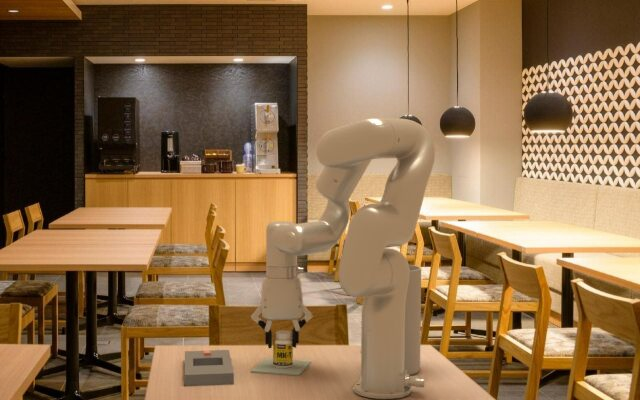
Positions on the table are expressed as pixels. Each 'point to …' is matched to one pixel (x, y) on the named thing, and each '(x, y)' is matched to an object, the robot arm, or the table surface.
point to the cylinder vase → (413, 322)
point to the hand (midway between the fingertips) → (282, 345)
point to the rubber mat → (268, 368)
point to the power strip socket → (208, 368)
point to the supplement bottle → (282, 349)
